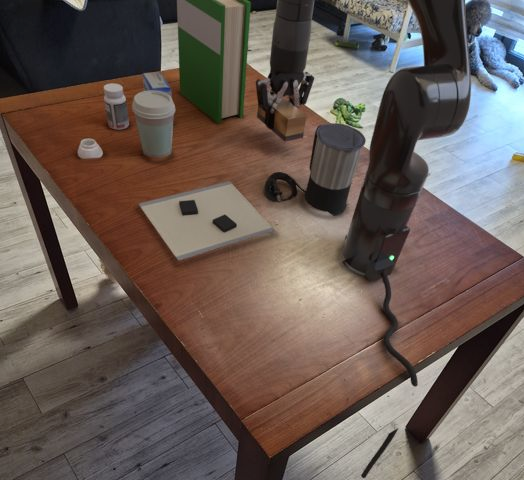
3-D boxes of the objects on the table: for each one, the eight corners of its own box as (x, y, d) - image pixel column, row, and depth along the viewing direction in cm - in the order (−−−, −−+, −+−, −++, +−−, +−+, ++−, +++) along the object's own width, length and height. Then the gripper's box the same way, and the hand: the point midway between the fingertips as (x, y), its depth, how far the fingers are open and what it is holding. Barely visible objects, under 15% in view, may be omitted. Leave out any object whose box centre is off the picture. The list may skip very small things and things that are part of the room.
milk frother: (355, 211, 97) (376, 142, 86) (293, 231, 91) (306, 160, 79) (315, 175, 104) (330, 107, 92) (255, 191, 98) (262, 120, 86)
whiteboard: (274, 235, 90) (275, 230, 89) (178, 265, 82) (178, 260, 81) (229, 186, 98) (229, 180, 97) (138, 209, 90) (138, 203, 89)
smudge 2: (236, 227, 88) (236, 223, 87) (224, 233, 87) (224, 229, 86) (224, 217, 90) (225, 214, 89) (212, 223, 88) (212, 219, 87)
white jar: (80, 163, 98) (105, 160, 99) (77, 149, 95) (102, 147, 97) (76, 150, 100) (100, 148, 102) (73, 137, 98) (98, 135, 99)
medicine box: (145, 111, 114) (141, 72, 107) (163, 109, 115) (160, 71, 108) (154, 127, 109) (151, 88, 103) (173, 125, 111) (171, 86, 104)
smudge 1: (198, 214, 89) (198, 210, 89) (182, 215, 89) (182, 212, 88) (194, 203, 91) (194, 199, 91) (179, 204, 90) (179, 201, 90)
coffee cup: (182, 163, 101) (180, 107, 92) (142, 168, 99) (136, 110, 89) (171, 143, 106) (168, 87, 96) (133, 147, 103) (126, 90, 94)
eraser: (303, 137, 106) (306, 115, 102) (284, 141, 104) (287, 119, 100) (274, 113, 112) (277, 91, 108) (256, 117, 110) (258, 94, 106)
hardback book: (242, 117, 117) (250, 2, 98) (218, 123, 114) (221, 6, 95) (204, 87, 125) (204, -25, 106) (180, 92, 121) (176, -22, 102)
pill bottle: (131, 121, 110) (127, 84, 103) (126, 131, 107) (121, 93, 100) (111, 118, 110) (105, 80, 103) (105, 128, 107) (99, 90, 100)
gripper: (270, 52, 89) (261, 139, 103) (329, 45, 95) (314, 128, 108) (250, 38, 93) (244, 123, 106) (308, 31, 99) (296, 113, 112)
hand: (279, 125), depth 107 cm, fingers closed on eraser, 5 cm apart
